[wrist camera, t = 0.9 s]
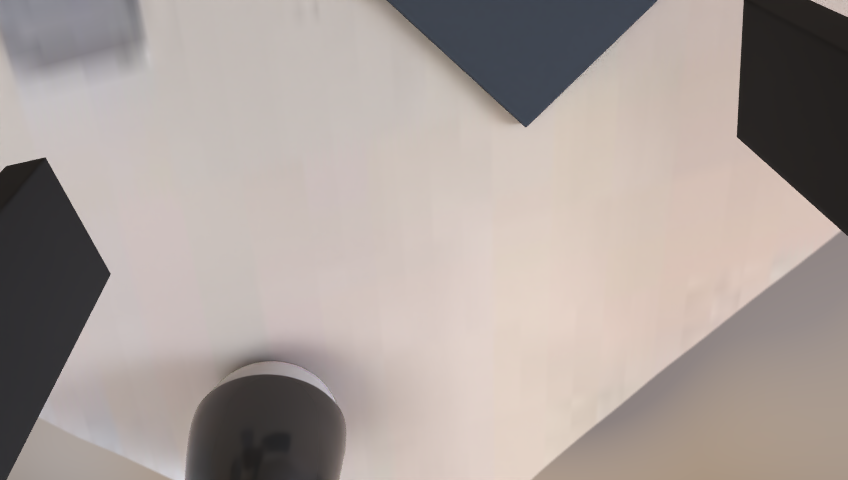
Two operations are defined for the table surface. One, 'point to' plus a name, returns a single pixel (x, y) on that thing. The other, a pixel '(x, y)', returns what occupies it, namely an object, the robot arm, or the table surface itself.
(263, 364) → the pump dispenser
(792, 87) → the robot arm
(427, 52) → the table surface
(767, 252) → the table surface
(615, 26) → the slate mat
